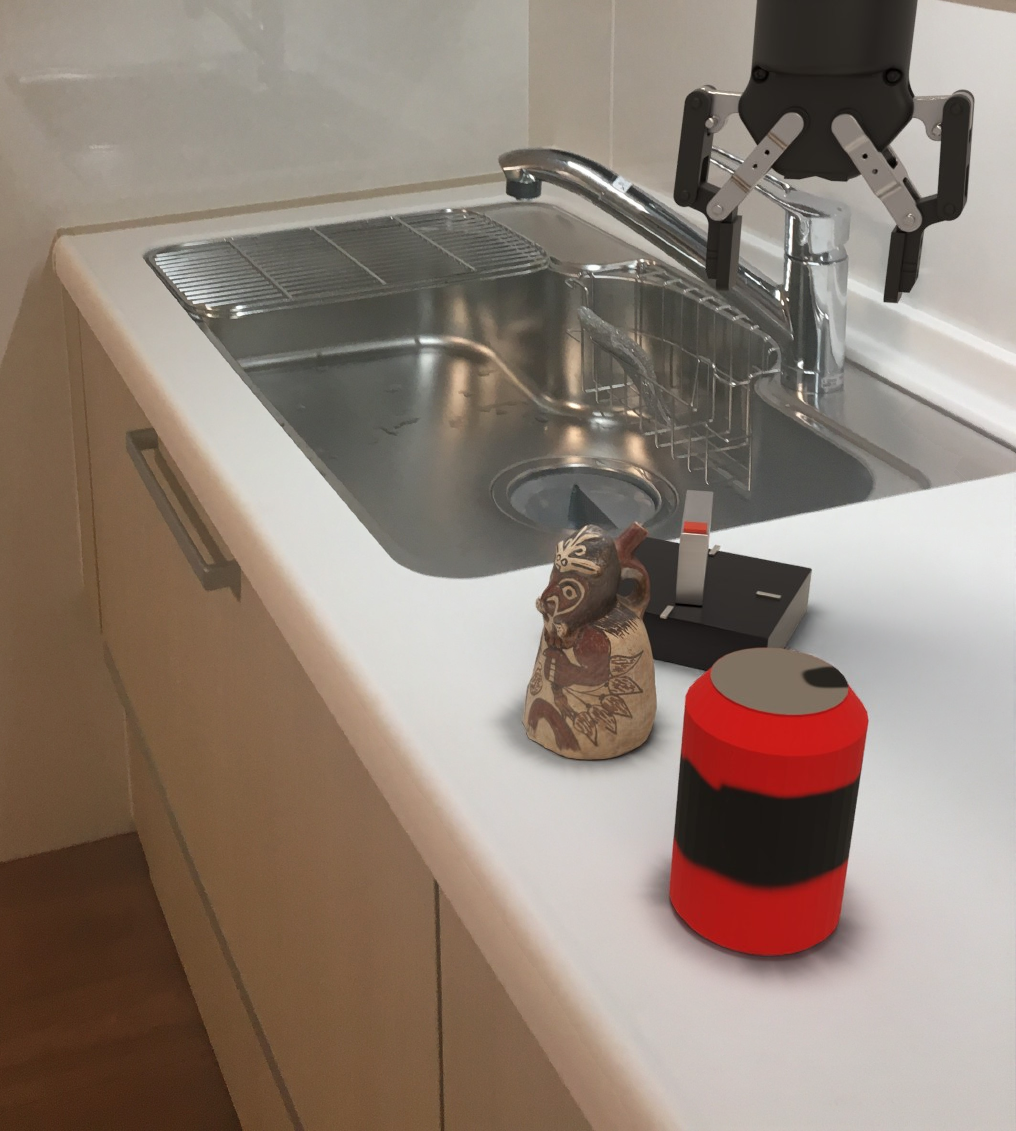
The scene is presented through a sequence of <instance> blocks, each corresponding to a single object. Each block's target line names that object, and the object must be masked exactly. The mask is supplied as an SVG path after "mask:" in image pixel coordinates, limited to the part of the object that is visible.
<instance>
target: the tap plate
mask: <svg viewBox="0 0 1016 1131" xmlns="http://www.w3.org/2000/svg"><path fill="white" fill-rule="evenodd" d="M679 545H680V542H676V541H671V540H665V539H659V538H655V537H649V536H647V537H646V538H645V539H644V541H643V542H642V543H641V544H640V546H639V547H638V548H637V549H636V551H635V552H634V555H635V557H636V558H637V559H638V560H639V561H640V562H641V564H642V565H643V566H644V568H645V570H646V571H647V574H648V576H649V581H650V600H649V602H648V605H647V607H646V609H645V612H644V615H643V619H642V620H643V623H644V626H645V628H646V631H647V634H648V638H649V642H650V646H651V651H652V656H653V659H656V660H660V661H665V662H670V663H673V664H678V665H682V666H686V667H691V668H694V669H700V670H704V671H708V670H709V669H710V668H711V667H712V666H713V665H714V664H715V663H716V661H717V660H719V659H720V658H722V657H723V656H725V655H727V654H730V653H732V652H735V651H740V650H744V649H751V648H780V649H786V648H785V647H786V646H787V644H788V642H789V641H790V640H791V638H792V636H793V635H794V633H795V631H796V629H797V627H798V626H799V625H800V624H801V621H802V620H803V618H804V617H805V614H806V613H807V611H808V607H809V606H808V605H809V597H810V590H811V581H812V574H813V573H812V572H813V569H812V567H806V566H802V565H796V564H792V563H785V562H780V561H774V560H770V559H766V558H765V559H764V558H759V557H756V556H755V557H754V556H750V555H744V554H739V553H733V552H728V551H723V550H721V545H719V544H715V545H714V546H713V547H712V548H709V549H708V560H707V569H706V579H705V588H704V598H703V605H702V606H701V605H691V604H680V603H675V595H676V583H677V570H678V558H679ZM635 586H636V582H635V580H634V579H631V578H626V579H625V580H623V581H622V582H621V583H620V585H619V587H618V589H617V593H616V594H618V595H620V596H622V597H626V596H629V595H630V594H631V593H632V591H633V590H634V588H635Z"/></svg>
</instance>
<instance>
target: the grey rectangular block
mask: <svg viewBox="0 0 1016 1131" xmlns="http://www.w3.org/2000/svg"><path fill="white" fill-rule="evenodd" d="M713 503H714V491H710V490H709V491H707V490H694V489H693V490H692V489H687V490H686V493H685V500H684V506H683V514H682V520H681V528H680V532H679V533H680V534H679V543H680V545H679V558H678V570H677V583H676V595H675V603H680V604H691V605H701V606H702V605H703V598H704V588H705V579H706V569H707V560H708V549H710V538H711V536H710V535H711V525H712V514H713V513H712V512H713Z"/></svg>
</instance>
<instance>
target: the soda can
mask: <svg viewBox="0 0 1016 1131" xmlns="http://www.w3.org/2000/svg"><path fill="white" fill-rule="evenodd" d="M684 697H685V698H684V699H685V700H684V709H683V719H682V720H683V721H682V734H681V747H680V756H679V768H678V769H679V770H678V779H677V780H678V781H677V793H676V806H675V815H674V829H673V841H672V852H671V862H670V863H671V864H670V875H669V889H668V890H669V893H668V894H669V898H670V901H671V905H672V906H673V908H674V910H675V911H676V913H677V914H678V916H680V918H681V919H682V920H683V921H684V922H685V923H686V924H687V925H688V926H689V927H690V928H691V929H692V930H693V931H694V932H696V933H697V934H698V935H700V936H701V937H702V938H704V939H706V940H708V941H710V942H711V943H714V944H715V945H717V946H720V947H723V948H725V949H728V950H731V951H735V952H738V953H743V954H747V955H755V956H765V957H766V956H767V957H768V956H771V957H773V956H776V957H777V956H778V957H779V956H784V955H791V954H792V955H793V954H795V953H799V952H802V951H805V950H808V949H810V948H812V947H814V946H815V945H818V944H819V943H821V942H823V941H825V940H826V939H827V938H828V937H829V936H830V935H831V934H833V933H834V931H835V929H836V928H837V926H838V924H839V922H840V918H841V913H842V907H843V901H844V893H845V885H846V880H847V872H848V866H849V865H848V864H849V859H850V852H851V845H852V839H853V830H854V824H855V819H856V818H855V817H856V810H857V804H858V797H859V789H860V782H861V777H862V776H861V775H862V770H863V762H864V755H865V750H866V741H867V737H868V736H867V735H868V729H869V722H870V721H869V714H868V710H867V709H866V706H865V704H864V703H863V701H862V700H861V699H860V698H859V696H858V695H857V694H856V692H855V691H854V689H852V687H851V685H850V684H849V682H848V680H847V678H846V677H845V675H844V674H843V673H842V672H841V671H840V670H839V669H838V668H837V667H836V666H834V665H832V663H829V662H828V661H825V660H824V659H822V658H819V657H817V656H814V655H812V654H809V653H806V652H802V651H798V650H793V649H788V648H787V649H786V648H784V649H780V648H751V649H744V650H740V651H735V652H732V653H730V654H727V655H725V656H723V657H722V658H720V659H719V660H717V661H716V663H715V664H714V665H713V666H712V667H711V668H710V669H709V670H706V672H704V673H703V674H702V675H700V676H699V677H698V678H697V679H696V680H695V681H694V682H693V683H692V684H691V685H690V686H689V687H688V689H687V691H686V693H685V696H684Z"/></svg>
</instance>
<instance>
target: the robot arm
mask: <svg viewBox="0 0 1016 1131" xmlns="http://www.w3.org/2000/svg"><path fill="white" fill-rule="evenodd" d="M918 3H919V2H918V0H756V6H755V19H754V31H753V41H752V42H753V44H752V45H753V46H752V55H751V57H752V58H751V69H750V75H749V80H748V83H747V85H746V87H745V89H744V90H743V91H734V90H733V91H731V90H723V89H722V90H720V89H717V88H716V87H715V86H714V85H711V84H704V85H702V86H699V87H697V88H695V89H694V90H692V91H691V92H690V93H688V95H686V97H685V99H684V104H683V114H682V120H681V121H682V123H681V128H680V138H679V146H678V153H677V161H676V170H675V178H674V185H673V186H674V187H673V195H672V196H673V201H674V203H675V204H676V205H677V206H678V207H681V208H691V209H693V210H695V211H697V212H699V213H701V214H702V215H704V216H705V218H706V221H707V225H708V226H707V238H706V239H707V240H706V254H705V268H704V270H705V273H706V276H707V279H709V280H715V290H716V291H722V292H723V291H724V292H731V290H733V288H734V287H735V286H736V285H737V282H738V276H739V264H740V250H741V240H742V239H741V238H742V227H743V226H742V224H743V215H740V214H739V206H740V205H741V204H742V202H743V201H745V200H746V198H747V197H748V196H749V195H750V193H751V192H752V191H753V190H755V188H756V187H757V186H758V184H759V183H761V181H762V180H763V179H764V178H765V177H766V176H767V175H768V173H769V172H770V171H771V170H773V171H774V172H775V173H776V174H778V175H781V176H783V180H798V181H800V180H804V179H808V178H813V177H815V178H816V177H817V178H821V179H823V180H827V181H830V182H841V183H847V182H848V181H850V180H852V179H855V178H858V177H860V176H862V178H863V179H864V181H865V182H866V184H867V185H868V187H869V188H870V190H871V192H872V193H873V194H874V195H875V197H876V198H878V199H879V200H880V202H881V203H882V204H883V206H884V207H885V209H886V210H887V212H888V213H889V216H890V217H891V218H892V220H893V221H894V223H895V224H896V225H894V227H893V229H892V230H891V233H890V240H889V246H888V247H889V248H888V257H887V266H886V274H885V280H884V289H883V301H882V302H883V303H887V304H899V303H900V301H901V298H902V295H903V293H907V294H910V293H911V291H912V289H913V288H914V287H915V285H916V283H917V280H918V279H919V276H920V275H919V274H920V265H921V258H922V252H923V251H922V250H923V243H924V234H925V230H926V229H927V228H928V227H930V226H931V225H935V224H938V223H941V222H951V221H955V220H957V219H958V218H959V217H961V215H962V214H963V211H964V209H965V207H966V205H967V203H968V195H969V182H970V170H971V155H972V141H973V131H974V130H973V129H974V128H973V127H974V114H975V103H976V102H975V101H976V100H975V96H974V94H973V93H972V92H971V91H970V90H967V89H963V88H962V89H958V90H955V91H954V92H952V93H951V94H945V95H943V94H941V95H917V96H916V95H915V93H914V91H913V90H912V86H911V81H910V67H911V60H912V53H913V52H912V51H913V44H914V35H915V26H916V18H917V11H918V10H917V9H918ZM733 114H738V116H739V119H740V121H741V122H742V123H743V125H744V127H745V129H746V130H747V132H748V134H749V135H750V137H751V138H752V140H753V141H754V143H755V144H756V147H755V148H754V149H753V150H752V151H751V152H750V154H749V155H748V156H747V157H746V158H745V160H743V162H742V163H741V164H740V165H739V166H738V167H737V169H736V170H735V171H734V172H733V173H732V174H731V176H730V177H729V178H728V179H727V180H726V182H725V183H724V184H723V185H722V187H719V186H718V185H715V184H712V183H710V182H709V175H710V174H709V173H710V165H711V158H712V151H713V150H712V149H713V144H714V143H713V142H714V135H715V134H717V133H719V132H720V131H722V130H723V129H724V128H725V127H727V124H728V122H729V119H730V118H731V116H732V115H733ZM913 119H917V120H919V121H921V123H923V125H924V129H925V134H926V137H928V138H929V140H931V141H934V142H940V144H939V146H940V148H939V162H938V175H937V176H938V177H937V191H936V192H937V193H933V194H929V195H927V196H922V195H921V193H920V192H919V191H918V188H917V187H916V186H915V184H914V183H913V181H912V179H911V178H910V177H909V174H908V170H907V169H906V167H905V165H904V163H903V162H902V160H901V159H900V157H899V156H898V155H897V153H896V151H895V150H894V148H893V146H891V144H892V143H893V142H894V140H896V138H897V137H898V136H899V135H900V134H901V133H902V131H904V129H906V127H907V126H908V125H909V123H910V122H911V121H912V120H913Z"/></svg>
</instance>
